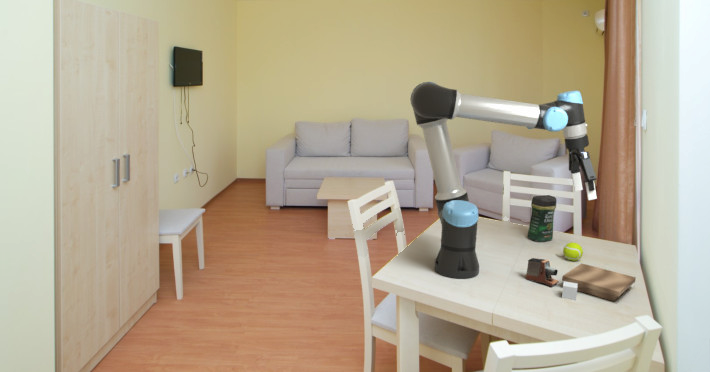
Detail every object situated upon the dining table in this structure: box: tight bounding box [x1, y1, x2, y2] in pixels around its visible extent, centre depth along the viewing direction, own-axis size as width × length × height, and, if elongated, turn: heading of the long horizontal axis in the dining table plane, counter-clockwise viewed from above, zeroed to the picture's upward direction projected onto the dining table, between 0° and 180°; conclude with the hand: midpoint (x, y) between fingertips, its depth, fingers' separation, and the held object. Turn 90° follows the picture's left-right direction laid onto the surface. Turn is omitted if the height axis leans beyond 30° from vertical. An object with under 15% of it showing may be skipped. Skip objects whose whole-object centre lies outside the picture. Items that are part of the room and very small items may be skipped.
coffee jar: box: [527, 194, 557, 243], centre depth 213 cm, size 10×8×19 cm
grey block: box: [561, 281, 578, 301], centre depth 160 cm, size 4×4×4 cm
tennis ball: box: [562, 242, 584, 262], centre depth 191 cm, size 7×7×7 cm
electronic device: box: [525, 257, 560, 288], centre depth 171 cm, size 4×10×8 cm, turn 44°
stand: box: [561, 263, 637, 302], centre depth 167 cm, size 17×16×4 cm
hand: (585, 194), depth 184 cm, fingers open, 13 cm apart
